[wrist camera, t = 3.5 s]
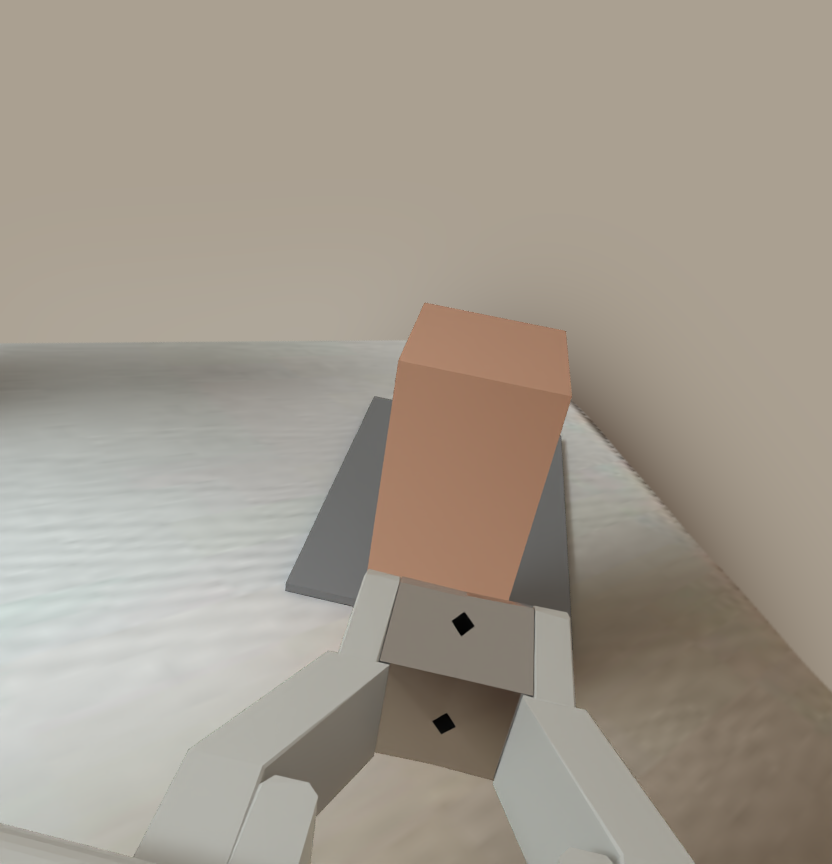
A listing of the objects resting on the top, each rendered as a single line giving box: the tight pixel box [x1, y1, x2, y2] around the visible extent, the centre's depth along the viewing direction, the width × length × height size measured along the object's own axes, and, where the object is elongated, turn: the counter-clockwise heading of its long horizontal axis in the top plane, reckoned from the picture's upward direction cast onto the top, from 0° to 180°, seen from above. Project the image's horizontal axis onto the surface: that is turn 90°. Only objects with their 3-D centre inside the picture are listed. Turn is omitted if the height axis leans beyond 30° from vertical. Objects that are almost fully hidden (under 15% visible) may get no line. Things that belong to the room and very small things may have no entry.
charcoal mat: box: [285, 396, 573, 650], centre depth 40 cm, size 20×14×1 cm
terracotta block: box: [367, 303, 572, 601], centre depth 25 cm, size 5×5×16 cm
